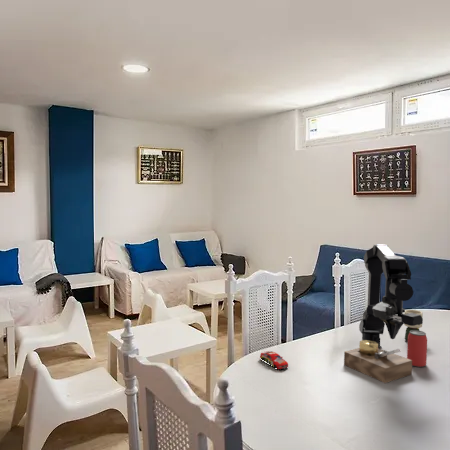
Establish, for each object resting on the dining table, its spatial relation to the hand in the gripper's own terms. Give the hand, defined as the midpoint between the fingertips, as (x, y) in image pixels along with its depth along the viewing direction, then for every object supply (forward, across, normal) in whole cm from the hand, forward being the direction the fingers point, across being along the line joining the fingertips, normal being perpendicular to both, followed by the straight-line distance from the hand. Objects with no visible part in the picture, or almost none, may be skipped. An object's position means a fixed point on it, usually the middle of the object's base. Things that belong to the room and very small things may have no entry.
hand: (392, 338), depth 148 cm
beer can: (+13, -2, +17) cm, 22 cm away
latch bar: (+6, -1, 0) cm, 6 cm away
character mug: (+13, -19, +39) cm, 45 cm away
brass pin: (+13, -10, 0) cm, 16 cm away
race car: (+13, -29, -29) cm, 43 cm away
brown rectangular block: (+13, -6, 0) cm, 14 cm away
